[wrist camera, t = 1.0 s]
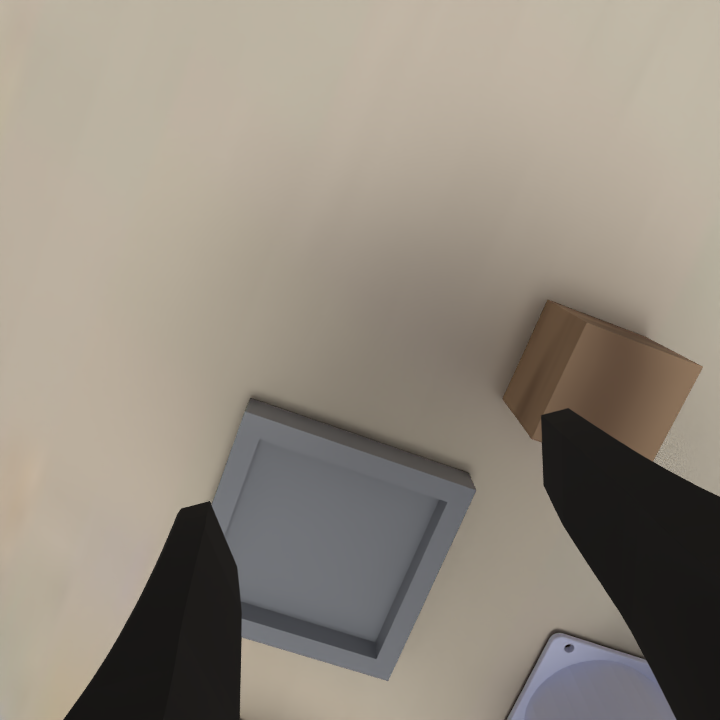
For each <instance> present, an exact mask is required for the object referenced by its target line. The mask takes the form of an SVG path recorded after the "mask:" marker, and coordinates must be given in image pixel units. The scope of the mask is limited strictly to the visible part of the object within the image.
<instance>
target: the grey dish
mask: <svg viewBox="0 0 720 720" xmlns="http://www.w3.org/2000/svg"><path fill="white" fill-rule="evenodd" d="M475 492H476V488H475V486H474V484H473V481H472V479H471V477H470V474H469V473H467V472H464V471H461V470H458V469H455V468H452V467H450V466H447V465H444V464H441V463H438V462H435V461H432V460H429V459H426V458H423V457H420V456H418V455H415V454H412V453H409V452H406V451H403V450H400V449H397V448H394V447H391V446H388V445H386V444H383V443H380V442H377V441H374V440H371V439H368V438H365V437H362V436H359V435H356V434H354V433H351V432H348V431H345V430H342V429H339V428H336V427H333V426H330V425H327V424H324V423H322V422H319V421H316V420H313V419H310V418H307V417H304V416H301V415H298V414H295V413H293V412H290V411H287V410H284V409H281V408H278V407H275V406H272V405H269V404H266V403H263V402H261V401H258V400H255V399H252V398H250V400H249V403H248V405H247V407H246V410H245V412H244V415H243V418H242V421H241V424H240V427H239V429H238V432H237V435H236V438H235V441H234V444H233V446H232V449H231V452H230V455H229V458H228V461H227V463H226V466H225V469H224V472H223V475H222V478H221V480H220V483H219V486H218V489H217V492H216V495H215V497H214V500H213V503H212V508H213V510H214V512H215V515H216V517H217V519H218V522H219V524H220V527H221V529H222V531H223V534H224V536H225V539H226V541H227V543H228V546H229V548H230V551H231V553H232V555H233V558H234V560H235V563H236V565H237V569H238V579H239V588H240V598H241V609H242V633H241V637H243V638H246V639H249V640H253V641H256V642H259V643H263V644H266V645H269V646H273V647H276V648H279V649H283V650H286V651H289V652H293V653H296V654H299V655H303V656H306V657H309V658H313V659H316V660H319V661H323V662H326V663H330V664H333V665H336V666H340V667H343V668H346V669H350V670H353V671H356V672H360V673H363V674H366V675H370V676H373V677H376V678H380V679H383V680H386V681H388V680H389V678H390V676H391V674H392V671H393V669H394V667H395V665H396V663H397V661H398V658H399V656H400V654H401V652H402V650H403V648H404V645H405V643H406V641H407V639H408V637H409V635H410V633H411V630H412V628H413V626H414V624H415V622H416V620H417V617H418V615H419V613H420V611H421V609H422V607H423V604H424V602H425V600H426V598H427V596H428V594H429V591H430V589H431V587H432V585H433V583H434V581H435V578H436V576H437V574H438V572H439V570H440V568H441V565H442V563H443V561H444V559H445V557H446V555H447V552H448V550H449V548H450V546H451V544H452V542H453V540H454V537H455V535H456V533H457V531H458V529H459V527H460V524H461V522H462V520H463V518H464V516H465V514H466V511H467V509H468V507H469V505H470V503H471V501H472V498H473V496H474V494H475Z"/></svg>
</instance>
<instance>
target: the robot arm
mask: <svg viewBox="0 0 720 720" xmlns="http://www.w3.org/2000/svg"><path fill="white" fill-rule="evenodd" d="M541 429H542V455H543V481H544V487H545V489H546V491H547V493H548V495H549V498H550V500H551V502H552V504H553V506H554V508H555V510H556V512H557V514H558V516H559V518H560V520H561V522H562V524H563V526H564V528H565V529H566V531H567V532H568V534H569V535H570V537H571V539H572V540H573V542H574V543H575V545H576V546H577V548H578V549H579V551H580V552H581V554H582V556H583V557H584V559H585V560H586V562H587V563H588V565H589V566H590V568H591V569H592V571H593V572H594V574H595V575H596V577H597V578H598V580H599V581H600V583H601V584H602V586H603V587H604V589H605V591H606V592H607V594H608V595H609V597H610V598H611V600H612V601H613V603H614V604H615V606H616V607H617V609H618V610H619V612H620V614H621V615H622V617H623V619H624V620H625V622H626V624H627V625H628V627H629V629H630V630H631V632H632V634H633V636H634V638H635V640H636V641H637V643H638V645H639V647H640V649H641V651H642V653H643V655H644V657H645V659H646V660H645V659H642V658H639V657H636V656H632V655H629V654H626V653H623V652H620V651H617V650H614V649H610V648H607V647H604V646H601V645H598V644H595V643H592V642H588V641H585V640H582V639H579V638H576V637H573V636H570V635H566V634H563V633H555V634H553V635H552V636H551V637H550V638H549V640H548V642H547V644H546V646H545V648H544V650H543V652H542V654H541V656H540V657H539V659H538V661H537V663H536V665H535V667H534V669H533V671H532V673H531V675H530V676H529V678H528V680H527V682H526V684H525V686H524V688H523V690H522V692H521V694H520V695H519V697H518V699H517V701H516V703H515V705H514V707H513V709H512V711H511V713H510V714H509V716H508V718H507V720H720V497H719V496H717V495H715V494H713V493H711V492H709V491H707V490H705V489H702V488H700V487H698V486H696V485H694V484H693V483H691V482H689V481H687V480H685V479H683V478H681V477H679V476H678V475H676V474H674V473H672V472H670V471H668V470H666V469H665V468H663V467H661V466H659V465H658V464H656V463H654V462H652V461H651V460H649V459H648V458H646V457H644V456H643V455H641V454H639V453H638V452H636V451H634V450H633V449H631V448H629V447H628V446H626V445H625V444H623V443H621V442H620V441H618V440H617V439H615V438H614V437H612V436H610V435H609V434H607V433H606V432H604V431H603V430H601V429H600V428H598V427H597V426H595V425H594V424H592V423H591V422H589V421H587V420H586V419H584V418H583V417H581V416H580V415H578V414H577V413H575V412H574V411H572V410H570V409H569V408H566V409H563V410H559V411H555V412H551V413H547V414H543V415H541ZM241 633H242V609H241V598H240V588H239V579H238V569H237V565H236V563H235V560H234V558H233V555H232V553H231V551H230V548H229V546H228V543H227V541H226V539H225V536H224V534H223V531H222V529H221V527H220V524H219V522H218V519H217V517H216V515H215V512H214V510H213V508H212V505H211V503H210V501H209V502H205V503H201V504H197V505H193V506H190V507H186V508H182V509H181V510H180V511H179V513H178V514H177V516H176V519H175V521H174V524H173V526H172V529H171V531H170V533H169V536H168V538H167V540H166V543H165V545H164V547H163V550H162V552H161V554H160V556H159V558H158V561H157V563H156V565H155V567H154V569H153V571H152V573H151V576H150V578H149V580H148V582H147V584H146V586H145V588H144V590H143V592H142V594H141V596H140V598H139V600H138V602H137V604H136V606H135V608H134V609H133V611H132V613H131V615H130V617H129V618H128V620H127V622H126V624H125V626H124V628H123V629H122V631H121V633H120V635H119V637H118V638H117V640H116V642H115V644H114V645H113V647H112V649H111V650H110V652H109V654H108V655H107V657H106V658H105V660H104V662H103V663H102V665H101V666H100V668H99V669H98V671H97V672H96V674H95V675H94V677H93V678H92V680H91V682H90V683H89V685H88V686H87V687H86V689H85V690H84V692H83V693H82V694H81V696H80V697H79V699H78V700H77V701H76V703H75V704H74V706H73V707H72V709H71V710H70V711H69V713H68V714H67V715H66V717H65V718H64V719H63V720H240V678H241ZM568 644H571V646H570V647H565V646H566V645H568Z"/></svg>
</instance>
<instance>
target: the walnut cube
mask: <svg viewBox="0 0 720 720" xmlns="http://www.w3.org/2000/svg"><path fill="white" fill-rule="evenodd" d="M702 368H703V367H702V366H700V365H698V364H697V363H695V362H693V361H691V360H689V359H687V358H685V357H683V356H681V355H679V354H677V353H675V352H673V351H672V350H670V349H668V348H666V347H664V346H662V345H660V344H658V343H656V342H654V341H652V340H650V339H649V338H647V337H644V336H642V335H639V334H636V333H634V332H631V331H629V330H626V329H623V328H621V327H618V326H615V325H613V324H610V323H608V322H605V321H602V320H600V319H597V318H595V317H592V316H589V315H587V314H584V313H582V312H579V311H576V310H574V309H571V308H569V307H566V306H563V305H561V304H558V303H555V302H553V301H550V300H547V302H546V304H545V307H544V309H543V311H542V313H541V315H540V318H539V320H538V322H537V324H536V326H535V328H534V331H533V333H532V335H531V337H530V339H529V342H528V344H527V346H526V348H525V350H524V353H523V355H522V357H521V359H520V361H519V364H518V366H517V368H516V370H515V372H514V375H513V377H512V379H511V381H510V383H509V386H508V388H507V390H506V392H505V394H504V397H503V400H504V402H505V403H506V404H507V406H508V407H509V408H510V410H511V411H512V413H513V414H514V415H515V417H516V418H517V419H518V421H519V422H520V424H521V425H522V426H523V428H524V429H525V430H526V432H527V433H528V435H529V436H530V437H531V439H534V440H536V441H539V442H542V429H541V415H543V414H547V413H551V412H555V411H559V410H563V409H566V408H569V409H570V410H572V411H574V412H575V413H577V414H578V415H580V416H581V417H583V418H584V419H586V420H587V421H589V422H591V423H592V424H594V425H595V426H597V427H598V428H600V429H601V430H603V431H604V432H606V433H607V434H609V435H610V436H612V437H614V438H615V439H617V440H618V441H620V442H621V443H623V444H625V445H626V446H628V447H629V448H631V449H633V450H634V451H636V452H638V453H639V454H641V455H643V456H644V457H646V458H648V459H649V460H651V461H652V462H653V460H654V458H655V456H656V455H657V453H658V451H659V449H660V447H661V445H662V443H663V441H664V439H665V438H666V436H667V434H668V432H669V430H670V428H671V426H672V424H673V422H674V421H675V419H676V417H677V415H678V413H679V411H680V409H681V407H682V405H683V404H684V402H685V400H686V398H687V396H688V394H689V392H690V390H691V388H692V387H693V385H694V383H695V381H696V379H697V377H698V375H699V373H700V372H701V370H702Z"/></svg>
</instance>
